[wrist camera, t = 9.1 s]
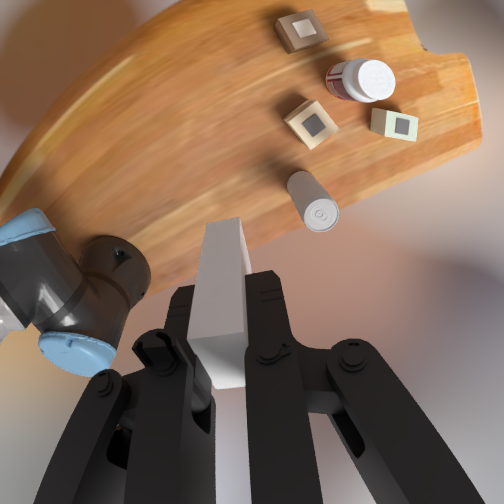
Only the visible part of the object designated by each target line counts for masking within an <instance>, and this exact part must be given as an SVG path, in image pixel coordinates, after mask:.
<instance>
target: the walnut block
mask: <svg viewBox="0 0 504 504" xmlns="http://www.w3.org/2000/svg"><path fill="white" fill-rule="evenodd" d="M274 29H275V31H276V33H277V34H278V36H279V38H280V40H281V41H282V43H283V45H284V47H285V49H286V51H287V53H288V54H291V53H294V52H297V51H300V50H303V49H306V48H309V47H312V46H316V45H319V44H321V43H322V42H324V41H326V40H328V39H329V38H328V36H327V34H326V33H325V31H324V29H323V27H322V25H321V23H320V22H319V20H318V18H317V16H316V14H315V13H314V11H313V9H311V10H307V11H303V12H299V13H295V14H292V15H289V16H285V17H282V18H279V19H278V20H277V22H276V23H275V25H274Z"/></svg>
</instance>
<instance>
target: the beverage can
mask: <svg viewBox="0 0 504 504" xmlns="http://www.w3.org/2000/svg"><path fill="white" fill-rule="evenodd" d="M287 189H288V192H289V194H290V196H291V198H292V200H293V202H294V204H295V206H296V208H297V210H298V212H299V214H300V216H301V219H302V221H303V222H304V224H305V225H306V226H307V227H308V228H309V229H310V230H312V231H315V232H324V231H328V230H329V229H331V228H332V227H333V226H334V225H335V224H336V223H337V221H338V218H339V209H338V206H337V204H336V202H335V201H334V199H333V198H332V197H331V196H330V195H329V193H328V192H327V191H326V190H325V189H324V188H323V186H322V185H321V184H320V183H319V182H318V181H317V180H316V179H315V178H314V176H313V175H312V174H311V173H309V172H306V171H299V172H296V173H294V174H293V175H292V176H291V177H290V178H289V180H288V183H287Z"/></svg>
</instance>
